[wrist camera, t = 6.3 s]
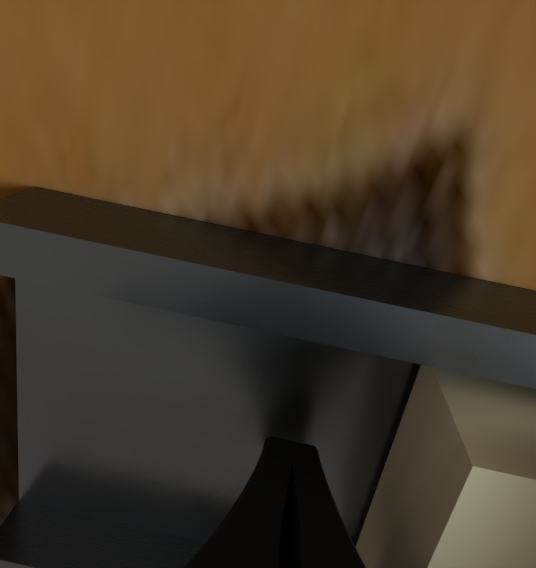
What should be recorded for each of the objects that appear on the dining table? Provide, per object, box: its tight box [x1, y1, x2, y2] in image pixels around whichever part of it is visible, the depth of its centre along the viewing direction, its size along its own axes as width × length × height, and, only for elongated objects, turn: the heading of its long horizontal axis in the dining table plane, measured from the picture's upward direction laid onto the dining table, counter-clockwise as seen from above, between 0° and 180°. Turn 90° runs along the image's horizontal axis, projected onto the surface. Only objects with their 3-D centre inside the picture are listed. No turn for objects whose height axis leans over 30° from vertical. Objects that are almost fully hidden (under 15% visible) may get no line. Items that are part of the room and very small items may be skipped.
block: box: [355, 365, 536, 568], centre depth 12 cm, size 6×8×4 cm
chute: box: [0, 187, 536, 568], centre depth 13 cm, size 18×11×3 cm, turn 79°
